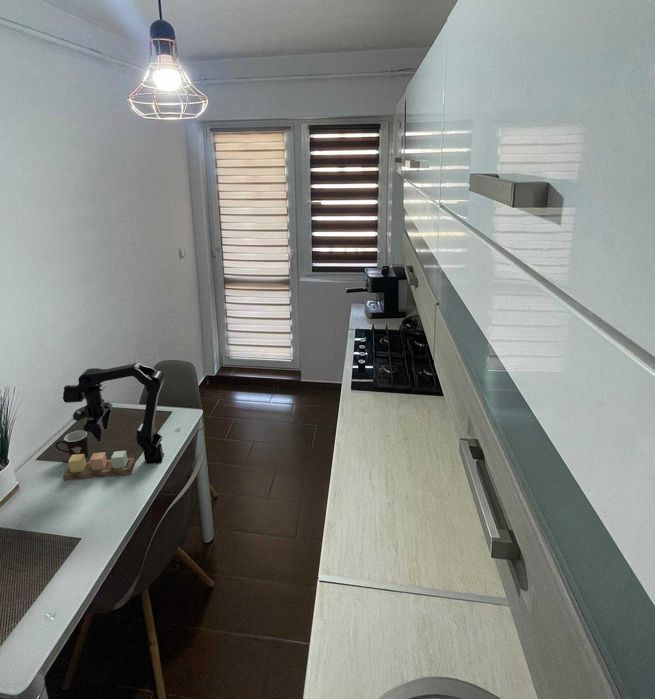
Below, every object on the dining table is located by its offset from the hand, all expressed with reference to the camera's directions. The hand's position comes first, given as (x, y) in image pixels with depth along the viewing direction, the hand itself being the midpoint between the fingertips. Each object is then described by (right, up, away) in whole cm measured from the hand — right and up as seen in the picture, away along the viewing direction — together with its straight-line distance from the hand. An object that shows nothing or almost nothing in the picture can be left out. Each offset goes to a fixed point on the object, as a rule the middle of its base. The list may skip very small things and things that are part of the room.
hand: (102, 434), depth 199 cm
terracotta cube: (0, -12, -3) cm, 13 cm away
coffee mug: (-14, -11, +8) cm, 19 cm away
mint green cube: (+8, -12, -2) cm, 14 cm away
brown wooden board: (0, -14, -2) cm, 14 cm away
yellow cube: (-8, -13, -4) cm, 15 cm away
